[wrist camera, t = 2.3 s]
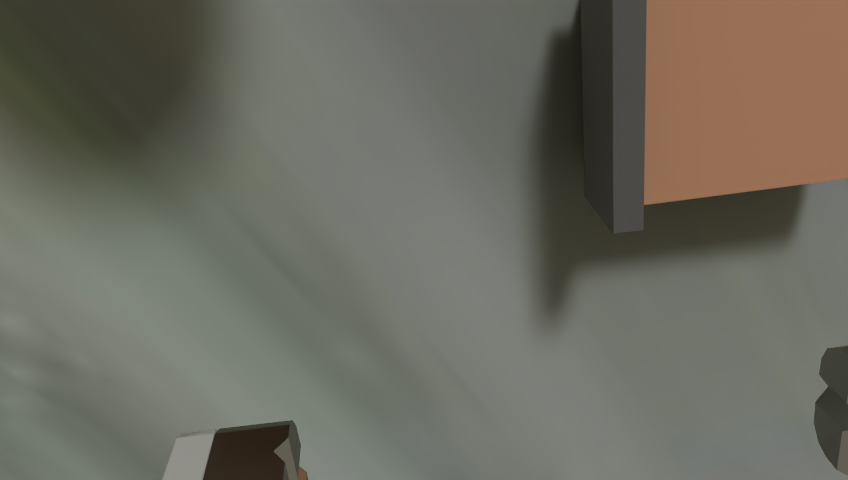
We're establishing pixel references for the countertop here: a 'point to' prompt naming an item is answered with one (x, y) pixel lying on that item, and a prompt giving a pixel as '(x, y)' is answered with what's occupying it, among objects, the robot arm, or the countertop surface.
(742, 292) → the countertop surface
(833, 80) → the trolley
